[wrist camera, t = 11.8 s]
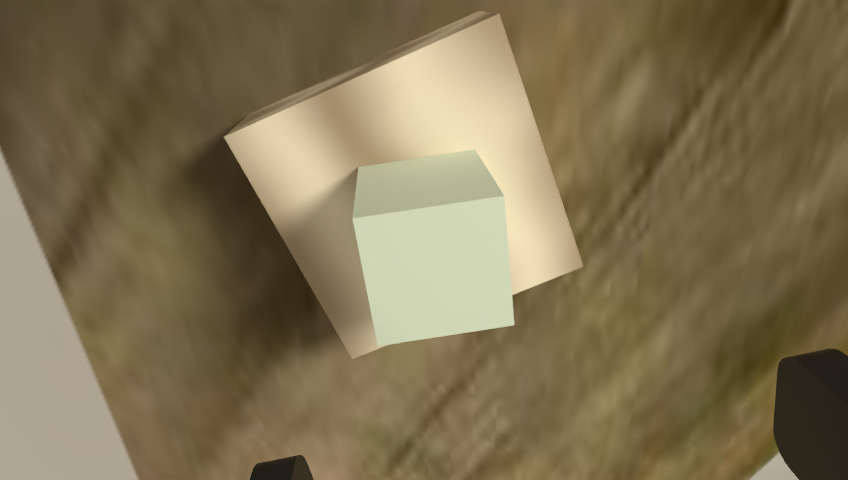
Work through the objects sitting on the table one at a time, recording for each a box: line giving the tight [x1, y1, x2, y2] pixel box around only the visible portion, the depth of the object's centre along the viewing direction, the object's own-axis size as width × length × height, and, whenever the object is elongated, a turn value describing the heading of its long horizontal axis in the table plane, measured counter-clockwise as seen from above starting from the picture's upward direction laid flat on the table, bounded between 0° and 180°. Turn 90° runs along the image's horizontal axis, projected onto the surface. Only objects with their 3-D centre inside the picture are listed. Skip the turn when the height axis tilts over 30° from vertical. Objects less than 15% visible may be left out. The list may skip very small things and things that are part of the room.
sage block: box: [352, 150, 514, 346], centre depth 22 cm, size 5×5×6 cm
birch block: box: [224, 11, 583, 359], centre depth 27 cm, size 12×12×5 cm
